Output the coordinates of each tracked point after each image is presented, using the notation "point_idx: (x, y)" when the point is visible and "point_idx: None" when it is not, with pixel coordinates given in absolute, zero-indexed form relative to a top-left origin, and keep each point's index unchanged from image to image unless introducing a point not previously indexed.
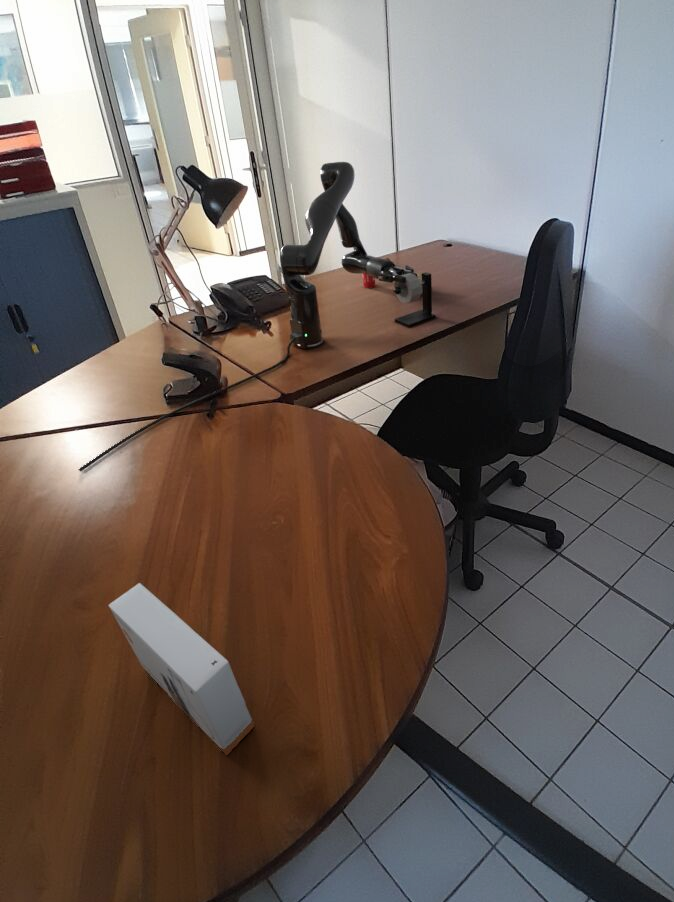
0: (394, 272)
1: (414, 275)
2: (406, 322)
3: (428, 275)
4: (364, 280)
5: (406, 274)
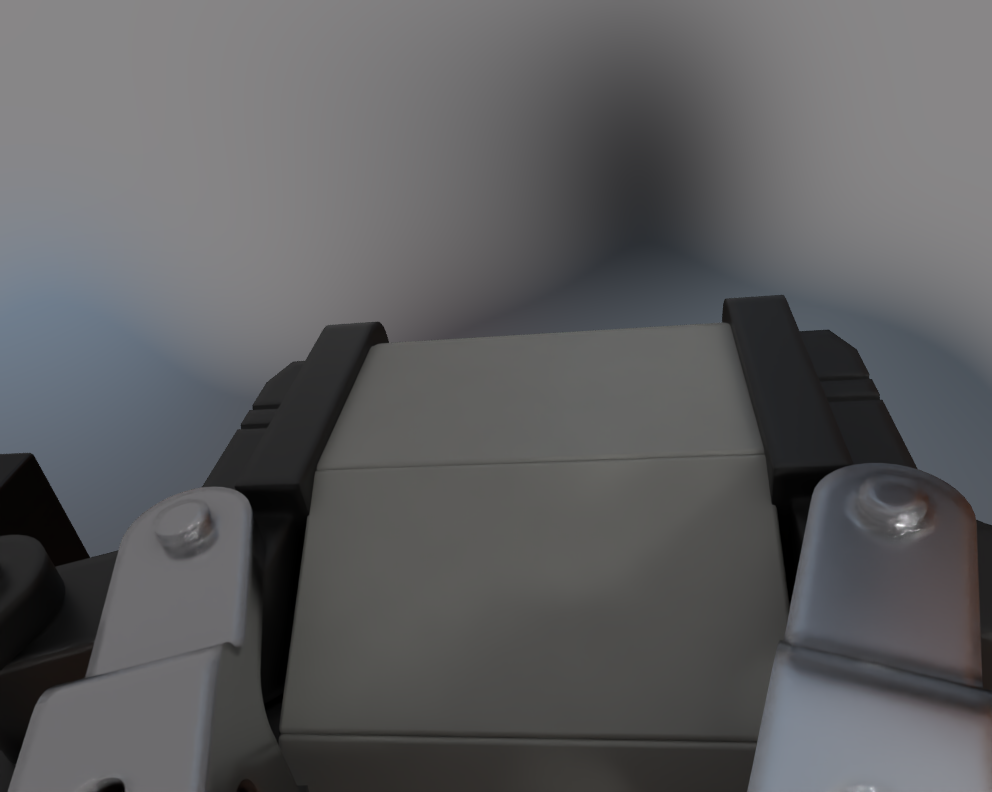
0: (865, 658)
1: (411, 343)
2: None
3: (8, 464)
4: None
5: (519, 422)
